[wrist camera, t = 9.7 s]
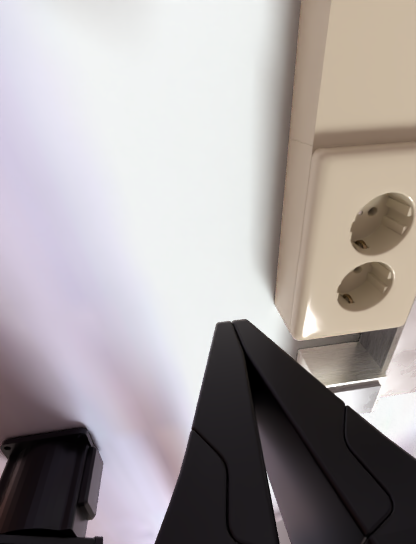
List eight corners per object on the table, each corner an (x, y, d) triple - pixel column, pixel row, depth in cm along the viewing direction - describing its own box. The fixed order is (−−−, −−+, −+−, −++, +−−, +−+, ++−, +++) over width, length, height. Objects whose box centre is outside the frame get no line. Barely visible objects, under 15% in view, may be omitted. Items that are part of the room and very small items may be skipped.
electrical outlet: (584, -121, 9) (406, 329, 18) (466, -62, 13) (367, 292, 22) (363, -126, 8) (294, 345, 18) (302, -61, 12) (272, 303, 21)
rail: (292, 383, 25) (312, 425, 22) (398, -276, 9) (526, -472, 6) (381, 369, 26) (413, 408, 23) (619, -258, 10) (834, -420, 7)
